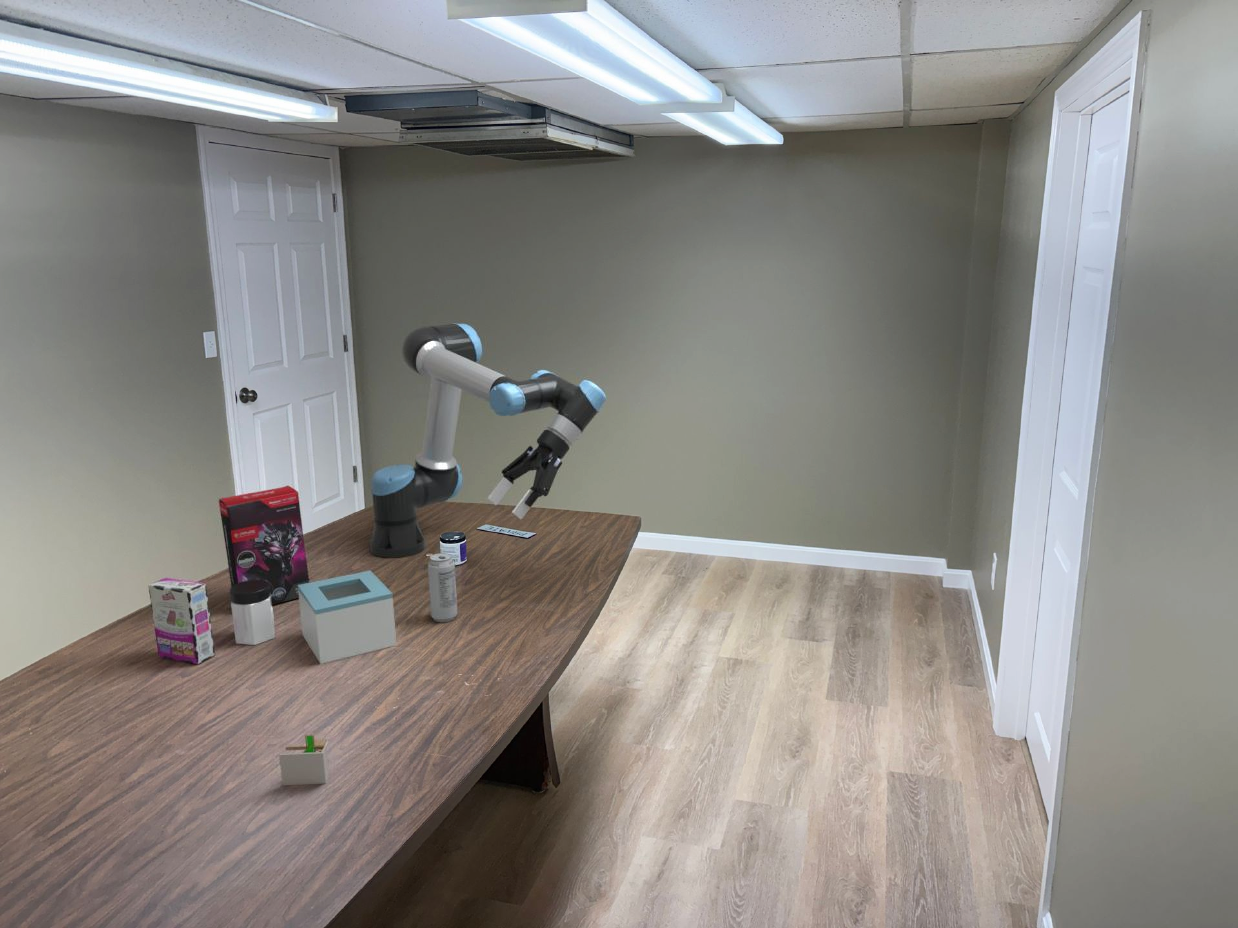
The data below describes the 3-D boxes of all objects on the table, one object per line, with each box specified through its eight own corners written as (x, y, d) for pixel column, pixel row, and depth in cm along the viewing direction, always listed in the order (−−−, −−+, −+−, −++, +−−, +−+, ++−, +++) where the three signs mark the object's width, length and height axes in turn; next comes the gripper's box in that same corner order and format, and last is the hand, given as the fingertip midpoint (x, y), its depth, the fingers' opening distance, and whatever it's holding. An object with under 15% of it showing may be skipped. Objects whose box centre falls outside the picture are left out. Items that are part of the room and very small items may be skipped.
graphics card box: (240, 615, 204) (226, 504, 198) (230, 606, 209) (216, 497, 203) (311, 596, 215) (301, 490, 209) (300, 588, 220) (289, 484, 214)
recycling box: (302, 635, 194) (297, 585, 191) (374, 619, 202) (370, 570, 199) (320, 663, 180) (315, 610, 177) (396, 645, 189) (392, 593, 186)
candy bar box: (216, 655, 185) (207, 582, 181) (198, 665, 180) (188, 591, 176) (176, 647, 188) (166, 576, 184) (157, 657, 184) (146, 584, 180)
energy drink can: (448, 610, 206) (444, 550, 203) (462, 617, 202) (459, 556, 199) (426, 617, 202) (422, 556, 199) (440, 625, 198) (436, 563, 194)
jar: (275, 642, 190) (269, 591, 187) (234, 648, 188) (228, 596, 185) (275, 626, 199) (270, 576, 196) (237, 631, 196) (230, 581, 193)
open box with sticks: (290, 772, 144) (285, 729, 142) (332, 771, 144) (328, 727, 142) (282, 787, 140) (277, 743, 138) (326, 785, 141) (321, 741, 139)
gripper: (594, 457, 200) (538, 531, 196) (544, 438, 220) (492, 505, 216) (574, 437, 196) (516, 512, 192) (524, 420, 216) (471, 487, 212)
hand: (503, 508), depth 204 cm, fingers open, 13 cm apart
